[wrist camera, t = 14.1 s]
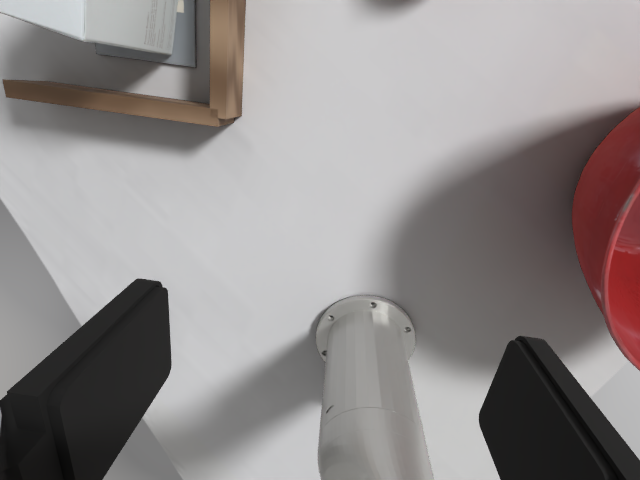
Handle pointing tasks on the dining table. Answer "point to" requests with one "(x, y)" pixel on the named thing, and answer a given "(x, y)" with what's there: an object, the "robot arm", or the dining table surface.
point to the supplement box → (103, 21)
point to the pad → (181, 46)
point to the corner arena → (220, 111)
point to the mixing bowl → (613, 232)
